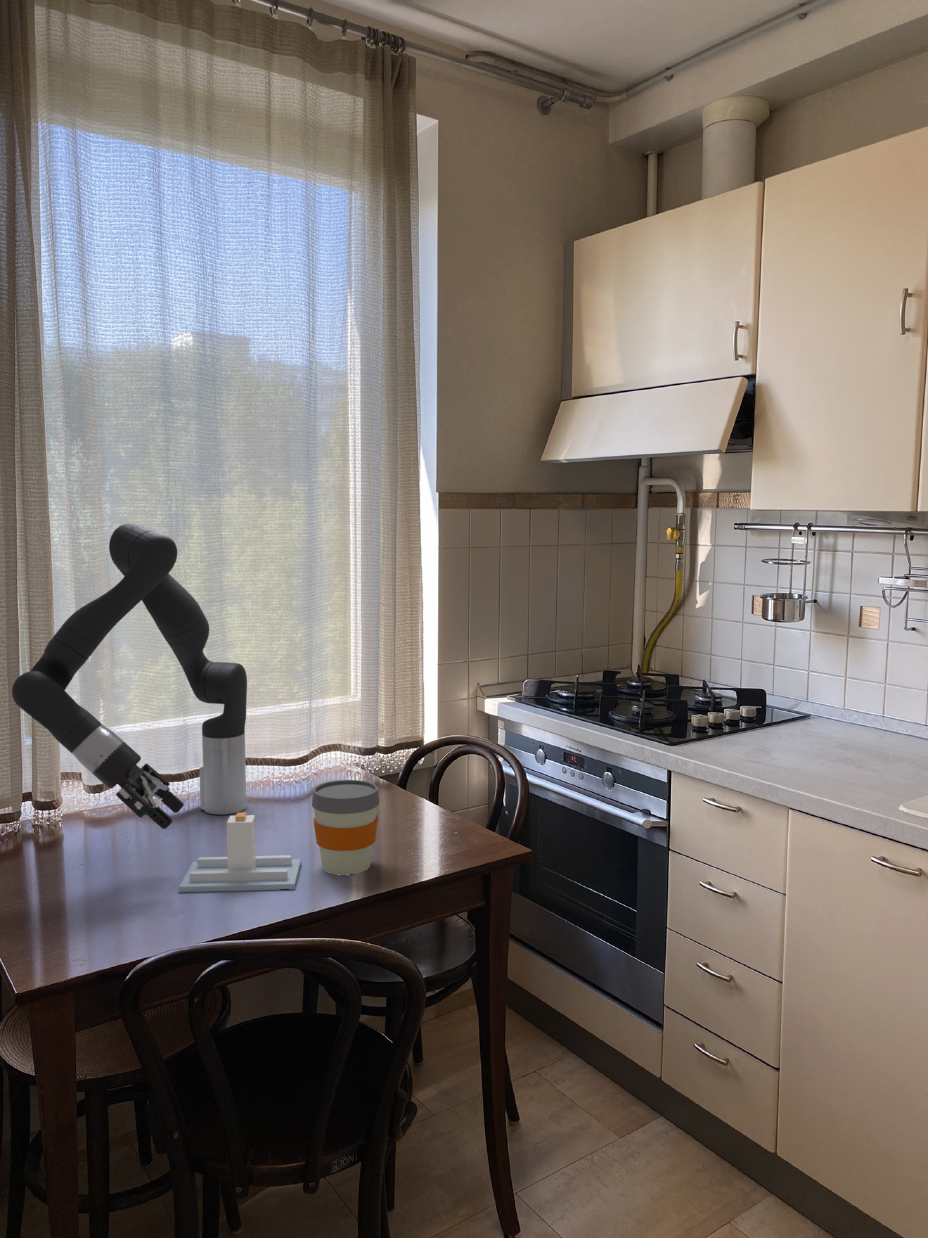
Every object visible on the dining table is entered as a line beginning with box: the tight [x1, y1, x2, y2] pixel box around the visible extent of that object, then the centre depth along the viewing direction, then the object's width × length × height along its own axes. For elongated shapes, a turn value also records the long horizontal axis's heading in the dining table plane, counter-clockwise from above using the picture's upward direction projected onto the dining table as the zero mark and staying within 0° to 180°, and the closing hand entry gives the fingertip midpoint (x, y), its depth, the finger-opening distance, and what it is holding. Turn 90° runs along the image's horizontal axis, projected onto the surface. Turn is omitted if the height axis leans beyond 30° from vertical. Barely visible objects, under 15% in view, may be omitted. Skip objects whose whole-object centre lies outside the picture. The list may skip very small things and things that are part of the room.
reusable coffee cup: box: [311, 779, 380, 876], centre depth 172 cm, size 12×13×15 cm
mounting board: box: [178, 854, 302, 893], centre depth 167 cm, size 20×12×2 cm, turn 95°
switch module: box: [226, 811, 257, 870], centre depth 167 cm, size 4×4×11 cm
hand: (174, 816), depth 166 cm, fingers open, 8 cm apart
